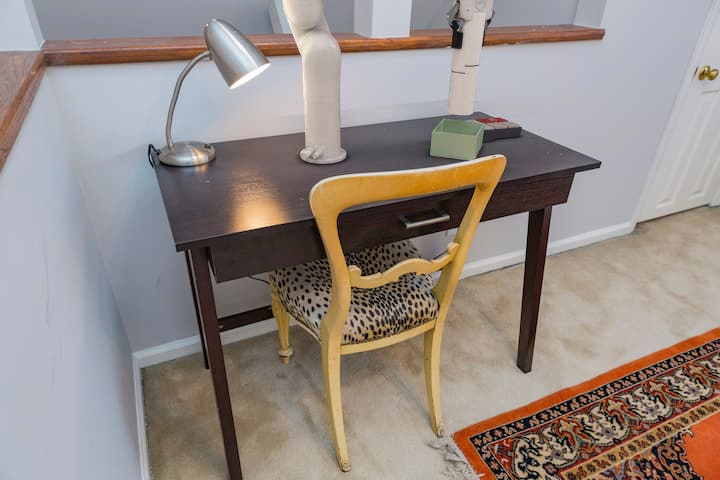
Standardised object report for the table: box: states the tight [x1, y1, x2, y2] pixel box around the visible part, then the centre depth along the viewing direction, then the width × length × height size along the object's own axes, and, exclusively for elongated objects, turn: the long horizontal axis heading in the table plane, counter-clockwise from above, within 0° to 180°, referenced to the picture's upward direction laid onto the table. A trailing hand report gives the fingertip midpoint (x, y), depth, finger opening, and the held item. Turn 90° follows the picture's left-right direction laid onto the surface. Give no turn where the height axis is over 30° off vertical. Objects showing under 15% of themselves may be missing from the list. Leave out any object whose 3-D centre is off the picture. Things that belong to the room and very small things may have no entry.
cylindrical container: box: [446, 12, 486, 116], centre depth 128 cm, size 7×7×25 cm
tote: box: [429, 118, 485, 161], centre depth 138 cm, size 14×12×7 cm
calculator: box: [464, 116, 523, 143], centre depth 152 cm, size 11×4×15 cm
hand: (467, 46), depth 126 cm, fingers closed on cylindrical container, 7 cm apart
